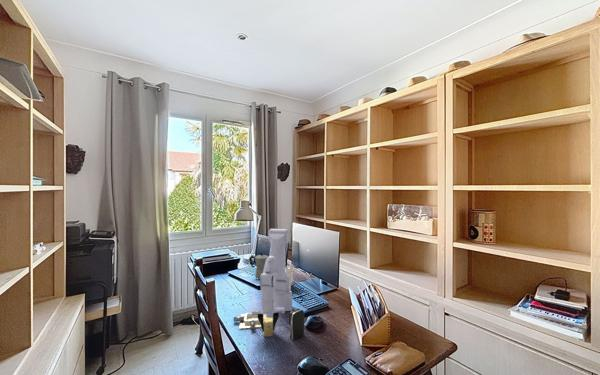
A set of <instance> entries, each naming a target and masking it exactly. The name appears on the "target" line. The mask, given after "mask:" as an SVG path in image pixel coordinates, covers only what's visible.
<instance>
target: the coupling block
mask: <svg viewBox="0 0 600 375" xmlns="http://www.w3.org/2000/svg"><path fill="white" fill-rule="evenodd" d="M273 336H274V331H273V317H267V318H264V332H263V337H273Z"/></svg>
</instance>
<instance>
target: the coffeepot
mask: <svg viewBox="0 0 600 375" xmlns="http://www.w3.org/2000/svg"><path fill="white" fill-rule="evenodd" d="M268 257H269V255H265V254H263V252H259V255H250V257H249V258H248V259H249V262H250V265H251V266H250V267H251V268H255V267H256V270H255V276H254V278H255V277H256V278H258V279H260V275H261V274H263V271H264V266H265V262H266V259H267V258H268ZM252 259H253V260H255V265H254V262H253V260H252ZM256 278H255V279H256ZM258 279H257V280H258Z"/></svg>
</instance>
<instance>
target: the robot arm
mask: <svg viewBox="0 0 600 375" xmlns="http://www.w3.org/2000/svg"><path fill="white" fill-rule="evenodd" d="M268 240H269V243H270V247H269V255H268V256H269V257H268V258H267V259H266V262H265V266H264V271H263V274H261V275H260V280H259V285H260V290H261V307H258V308H255V309H254V308H253V309H251V313H252V316H254V315H258V320H259V322H260V324H261V327H262V328H261V332H262V333H264V324H263V314H266V315H267V316H271V315H272V318H273V332H274V331H275V328H276V325H277V322H278V320H279V317H280V314H285V313H286V312H289V311H290V312H291V311H293V292H292V290H291V289H292V287H291V278H290V276H289V275H288V274H286V273H285V268H286V244H288V243H289V242H290V230H289V229H288V228H270V229H269V230H268Z"/></svg>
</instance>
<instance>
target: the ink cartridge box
mask: <svg viewBox="0 0 600 375" xmlns="http://www.w3.org/2000/svg"><path fill="white" fill-rule="evenodd" d="M285 273H286V274H288V275H289V276H290V278H291V285H292V284H293V285H294V264H293V263H291V264H289V265H287V266H285Z"/></svg>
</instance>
